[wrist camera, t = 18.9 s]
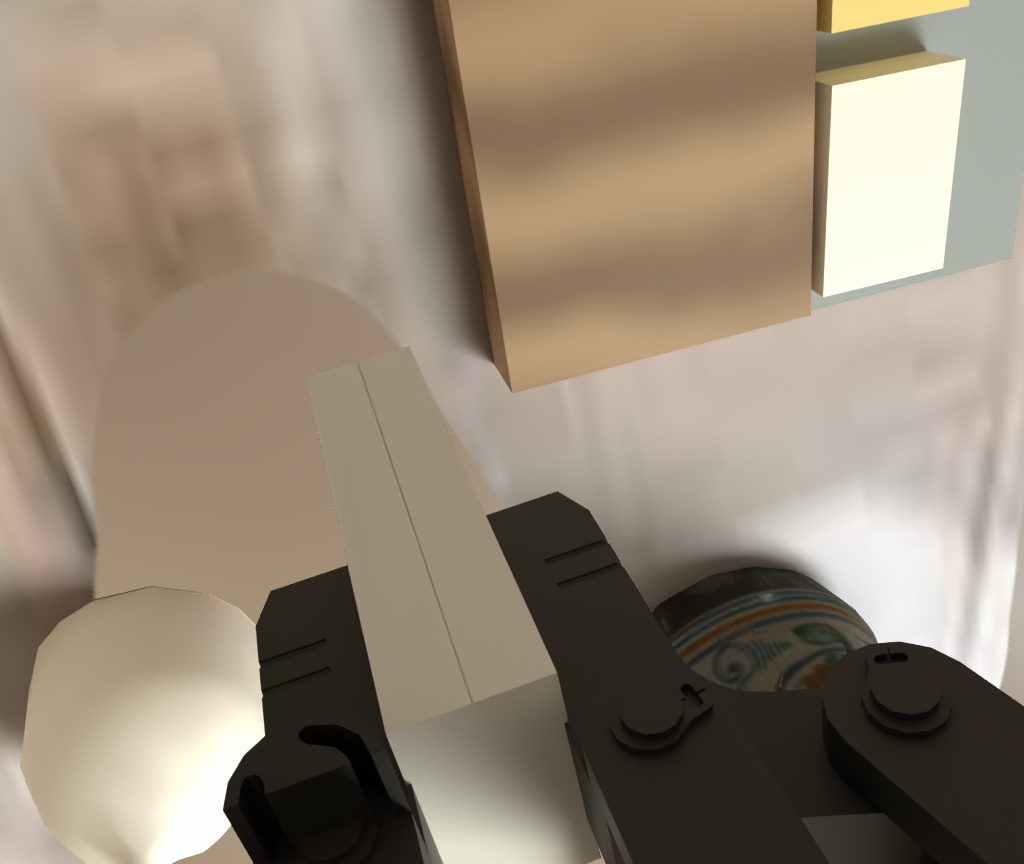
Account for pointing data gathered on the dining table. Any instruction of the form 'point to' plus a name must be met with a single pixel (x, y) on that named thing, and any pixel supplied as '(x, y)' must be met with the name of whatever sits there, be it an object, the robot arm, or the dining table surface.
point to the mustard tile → (875, 12)
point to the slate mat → (982, 123)
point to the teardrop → (141, 724)
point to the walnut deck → (632, 172)
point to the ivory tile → (883, 169)
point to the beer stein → (761, 629)
